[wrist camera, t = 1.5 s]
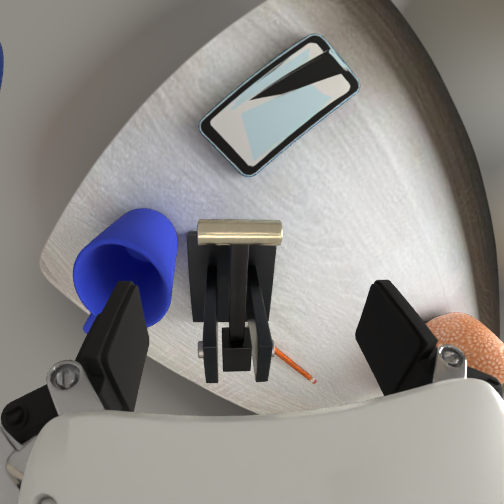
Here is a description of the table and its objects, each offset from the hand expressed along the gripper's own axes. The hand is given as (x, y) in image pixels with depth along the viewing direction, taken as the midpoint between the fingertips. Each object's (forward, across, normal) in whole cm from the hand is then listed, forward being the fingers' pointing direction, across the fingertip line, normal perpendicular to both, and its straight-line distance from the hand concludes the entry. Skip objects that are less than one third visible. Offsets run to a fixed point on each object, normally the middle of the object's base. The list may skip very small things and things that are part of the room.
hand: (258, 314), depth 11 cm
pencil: (+19, -7, +23) cm, 31 cm away
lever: (+9, 0, +5) cm, 10 cm away
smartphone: (+18, -4, -9) cm, 21 cm away
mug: (+18, +11, +6) cm, 22 cm away
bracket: (+18, 0, +10) cm, 21 cm away
